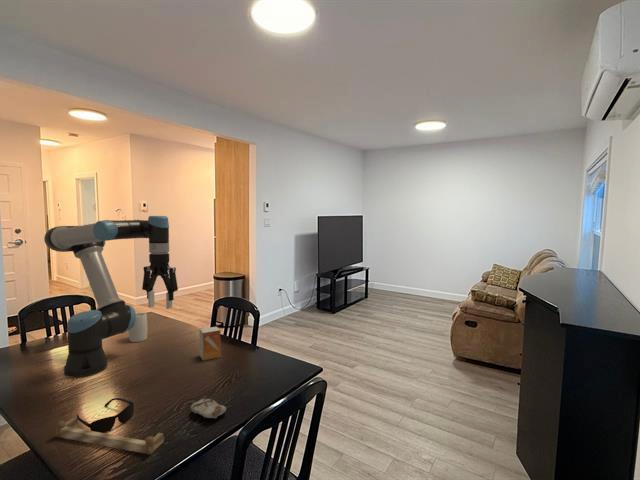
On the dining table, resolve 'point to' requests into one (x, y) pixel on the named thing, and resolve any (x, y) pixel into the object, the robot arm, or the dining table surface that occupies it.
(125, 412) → the sunglasses
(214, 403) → the stone
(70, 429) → the beige long bar
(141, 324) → the cup
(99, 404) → the dining table surface
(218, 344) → the small box
